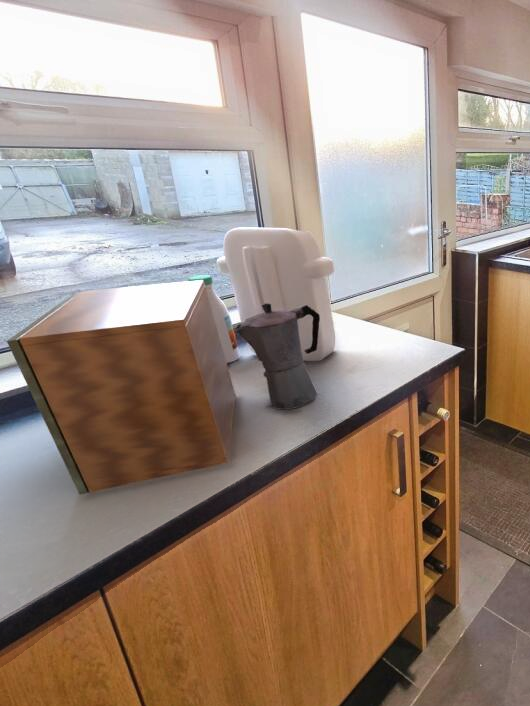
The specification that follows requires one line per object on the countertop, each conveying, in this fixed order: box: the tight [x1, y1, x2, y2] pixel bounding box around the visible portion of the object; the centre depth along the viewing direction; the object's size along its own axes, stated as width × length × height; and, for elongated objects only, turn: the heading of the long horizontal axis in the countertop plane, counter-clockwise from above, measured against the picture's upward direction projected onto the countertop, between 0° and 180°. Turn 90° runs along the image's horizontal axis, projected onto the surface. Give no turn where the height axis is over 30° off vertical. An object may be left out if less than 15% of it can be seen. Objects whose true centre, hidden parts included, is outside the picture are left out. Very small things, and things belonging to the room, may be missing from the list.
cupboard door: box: [6, 291, 89, 495], centre depth 77 cm, size 7×26×24 cm, turn 24°
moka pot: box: [233, 303, 320, 410], centre depth 95 cm, size 10×15×20 cm, turn 137°
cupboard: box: [19, 280, 237, 493], centre depth 81 cm, size 18×26×24 cm
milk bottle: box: [187, 274, 241, 364], centre depth 115 cm, size 8×8×20 cm
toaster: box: [216, 226, 336, 362], centre depth 115 cm, size 27×11×30 cm, turn 77°
